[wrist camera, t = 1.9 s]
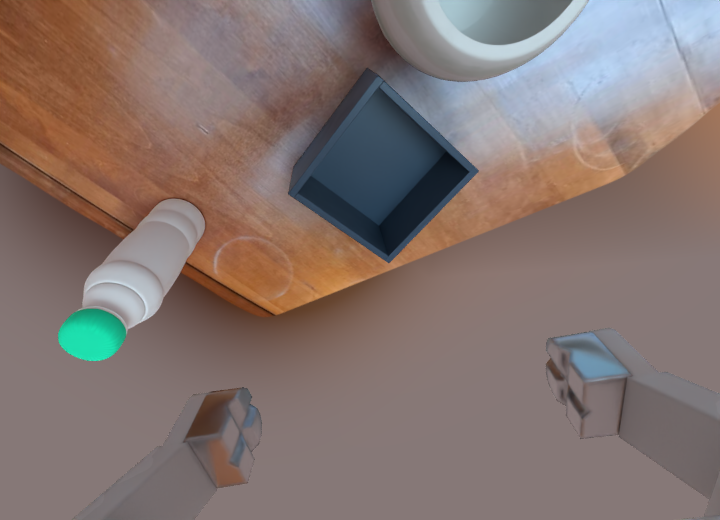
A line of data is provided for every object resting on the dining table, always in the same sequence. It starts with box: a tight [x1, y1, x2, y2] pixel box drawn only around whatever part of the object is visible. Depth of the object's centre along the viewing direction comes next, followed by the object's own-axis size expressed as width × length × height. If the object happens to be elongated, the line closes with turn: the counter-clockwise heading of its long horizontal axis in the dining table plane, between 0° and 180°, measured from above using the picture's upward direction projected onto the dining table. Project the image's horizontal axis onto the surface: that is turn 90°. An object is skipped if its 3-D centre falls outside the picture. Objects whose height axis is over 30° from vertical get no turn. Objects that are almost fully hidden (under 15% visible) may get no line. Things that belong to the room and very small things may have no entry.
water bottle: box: [58, 199, 205, 361], centre depth 42 cm, size 7×7×25 cm
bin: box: [288, 68, 479, 263], centre depth 46 cm, size 16×16×10 cm
